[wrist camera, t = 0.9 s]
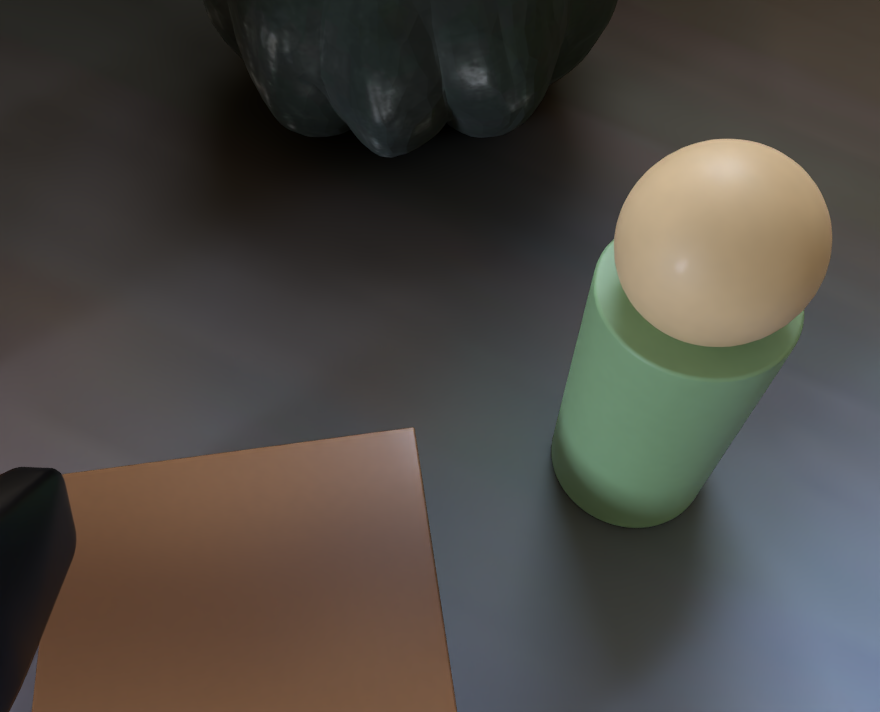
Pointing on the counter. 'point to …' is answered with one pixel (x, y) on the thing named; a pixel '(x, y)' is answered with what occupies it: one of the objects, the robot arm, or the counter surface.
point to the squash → (407, 62)
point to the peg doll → (687, 325)
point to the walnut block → (251, 585)
